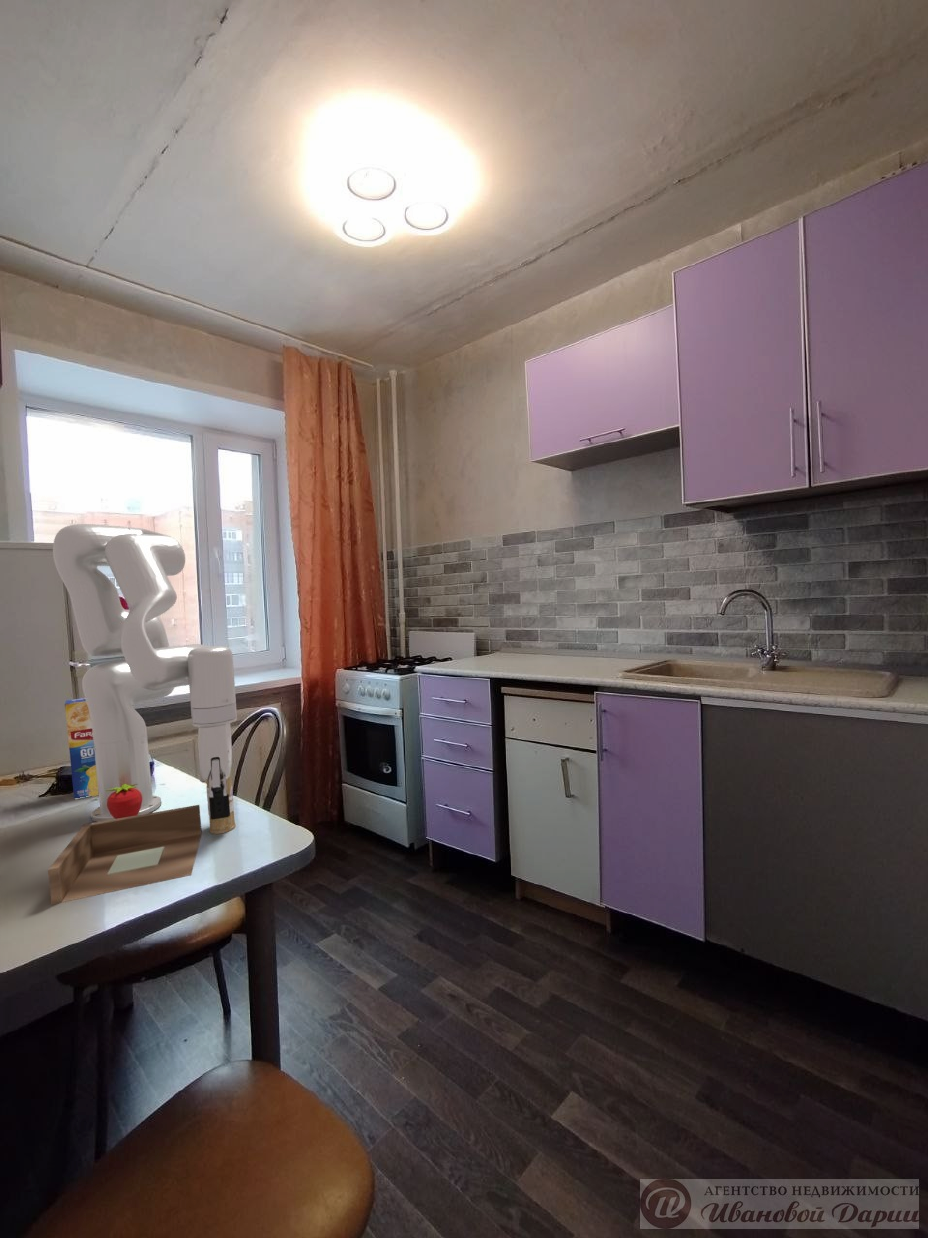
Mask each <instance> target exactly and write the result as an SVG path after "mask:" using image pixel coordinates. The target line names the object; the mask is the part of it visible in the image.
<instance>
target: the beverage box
mask: <svg viewBox="0 0 928 1238" xmlns="http://www.w3.org/2000/svg"><path fill="white" fill-rule="evenodd" d="M64 709H65V716H66V718H65V719H66V727H67V728H66V729H67V739H68V749H69V758H70V760H69V761H70V769H71V770H70V772H71V781H72V788H73V789H72V791H73V799H74V798H80V797H86V796H92V797H96V796H99V793H98V783H97V772H96V761H95V751H94V741H93V731H92V723H91V717H90V713H89V709H88V705H87V702H86V699H85V697H84V698H76V699H75V698H74V699H70V700H69V699H67V700H66V701H65V703H64Z"/></svg>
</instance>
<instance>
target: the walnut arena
mask: <svg viewBox="0 0 928 1238" xmlns="http://www.w3.org/2000/svg"><path fill="white" fill-rule="evenodd" d="M202 830H203V829H202V820H201V810H200V804H196V805H195V804H194V805H190V806H189V805H188V806H183V807H179V808H178V807H177V808H173V809H167V810H160V811H155V812H150V813H147V814H142V815H136V816H131V817H125V818H119V819H113V820H107V821H102V822H96V821H95V822H90V823H85V824H83V825H82V827H81V828H80V829H79V830H78V832H77V833H76V834H75V836H74V837H73V838H72V839H71V840H70V842H69V843H68V844H67V845H66V847H65V848H64V849H63V850H62V852H61V853H60V854H59V855H58V857H57V858H56V859H55V860H54V862H53V863H52V864H51V865H50V867H49V868H48V869H47V872H48V873H47V874H48V880H49V891H50V902H51V905H57V904H60V903H66V902H70V901H75V900H79V899H84V898H91V897H94V896H99V895H104V894H108V893H114V892H117V891H123V890H127V889H132V888H137V887H141V886H147V885H152V884H156V883H160V882H166V881H170V880H175V879H179V878H184V877H189V876H192V874H193V869H194V865H195V860H196V856H197V853H198V849H199V843H200V840H201V835H202V833H203V831H202ZM160 847H164V850H163V853H162V855H161V858H160V860H159V863H158V865H155V866H150V867H145V868H140V869H135V870H130V871H125V872H120V873H115V874H110V875H107V873H108V872H109V870H110V868H111V866H112V865H113V863H114V861H115V859H116V857H117V856H118V855H123V854H128V853H134V852H139V851H144V850H149V849H154V848H160Z"/></svg>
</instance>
